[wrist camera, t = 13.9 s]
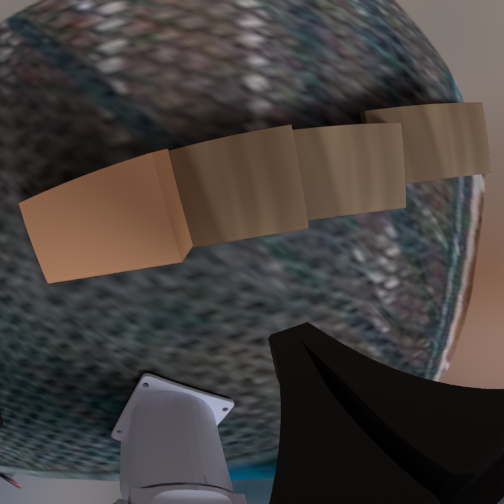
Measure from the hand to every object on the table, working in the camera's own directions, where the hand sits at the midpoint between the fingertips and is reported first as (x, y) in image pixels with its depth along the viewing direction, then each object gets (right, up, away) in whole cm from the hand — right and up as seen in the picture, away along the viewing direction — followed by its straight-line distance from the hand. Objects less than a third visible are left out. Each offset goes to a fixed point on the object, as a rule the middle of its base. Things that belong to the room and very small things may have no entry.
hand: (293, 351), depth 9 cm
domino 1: (-14, +4, +5) cm, 15 cm away
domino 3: (-2, +7, +7) cm, 10 cm away
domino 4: (+6, +10, +9) cm, 15 cm away
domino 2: (-8, +6, +6) cm, 11 cm away
